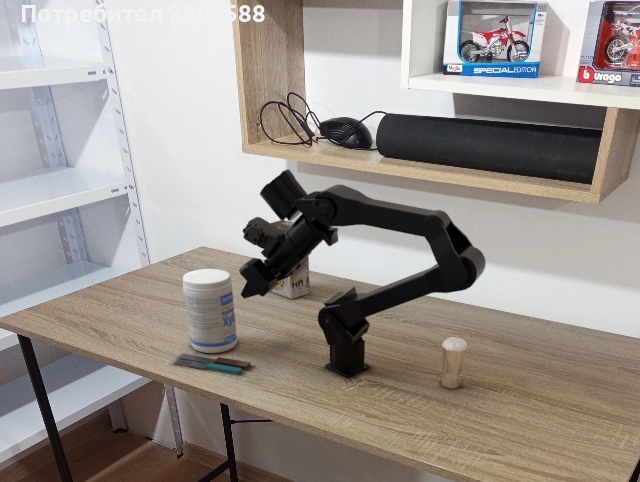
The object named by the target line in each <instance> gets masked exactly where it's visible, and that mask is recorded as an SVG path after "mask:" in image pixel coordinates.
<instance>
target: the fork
mask: <svg viewBox="0 0 640 482" xmlns="http://www.w3.org/2000/svg"><path fill="white" fill-rule="evenodd" d="M173 364H174V365H176V366H182V367H188V368H191V369H197V370H204V371H206V370H207V371H214V372H220V373H225V374H230V375H231V374H232V375H237V376H239V375H241V374H242V373H243V370H242V368H237V367H231V366H225V365H219V364H213V363H209V364H207V363H201V362H195V361H189V360H183V359H179V358H178V360H176V361H174V362H173Z"/></svg>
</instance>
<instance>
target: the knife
mask: <svg viewBox="0 0 640 482" xmlns="http://www.w3.org/2000/svg"><path fill="white" fill-rule="evenodd" d="M179 359H180V360H186V361H192V362H194V361H195V362H201V363H207V364H209V363H213V364H219V365H225V366H231V367H237V368H242V371H247V370H249V369H250V368H251V367H252V365H251V361H246V360H240V359H239V360H238V359H233V358H228V357H220V356H218V357H217V358H210V357H203V356H197V355H192V354H186V353H183V354H181V355H179V356H178V360H179Z"/></svg>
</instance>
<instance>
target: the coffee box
mask: <svg viewBox="0 0 640 482" xmlns="http://www.w3.org/2000/svg"><path fill="white" fill-rule="evenodd" d="M270 223H271V224H272V225H274V226H275V227H277V228H278V229H279V230H280V231H282V232H284V231H285V230H286V229H288V228H289V227H290V226H291V225H292V224H293V223H294V222H292V221H288V220H286V219H285V220H283V221H282V220H280V219H279V220H277V221H273V222H270ZM266 259H267V257H266V258H265V260H266ZM309 260H310V259H309V256H308V257H307V262H306V263H305V264H304V265H303V266H302V267H301V268H300V269H298V270H297V271H295V269H294V270H293V274H292V275H290V276H289V277H288V278H285V279H283V280H280V281H277V285H276V286H275V287H274V288H273V289H272V290H271V291H270V293H274V294H277V295H280V296H282V297H285V298H288V299H291V300H294V299H296V298H299V297H303V296H306V295H309V294H311V293H310V291H311V290H310V262H309Z"/></svg>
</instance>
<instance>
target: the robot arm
mask: <svg viewBox="0 0 640 482" xmlns="http://www.w3.org/2000/svg"><path fill="white" fill-rule="evenodd" d="M259 195H260V197H261V198H262V199H263V200H264V202H265V203H266V205H268V207H269V208H270V209H271V210H272V211H273V213H274V214H275V215H276V217H278V219H279V221H280V220H282V221H283V220H285V221H286V220H287V221H288V222H292V220H294V219H295V218H297V217H298V218H297V219H296V220H295V221H294V222H292V223H293V224H292V225H291V226H290V227H289V228H288V229H286V230H285V231H284V232H282V231H280V230H279V229H278V228H277V227H275V226H274V225H272V224H271V223H272V222H269V221H267V220H265V219H264V218H262V217H261V216H255V217H254V218H251V219H250V220H249V221H248V222H247V224H246V225H245V227H244V228H243V229H242V234H243V236H242V237H243V239H244V240H245V241H247V242H248V243H250V244H251V245H254V246H257V247H258V248H260V249H262V250H261V251H260V253H261V255H262V256H263V257H264V258H265V259H263V260H262V259H261V258H256V257H252V258H251V259H249V260H248V261H247V262H244V264H243V265H242V266H241V267H240V268H239V270H238V271H239V274H240V275H241V276H242V278H243V279H244V280H245V281H246V282H245V284H244V287H243V288H242V290H241V293H240V297H242V298H243V299H244V300H245V299H248V298H251V297H255V296H257V295H258V296H259V297H265V296H266V295H267V294H269V293H271V290H272V289H273V288H274V287H275V286H276V285H277V281H280V280H283V279H285V278H288V277H289V276H290V275H292V274H293V270H294V269H295V271H297V270H298V269H300V268H301V267H302V266H303V265H304V264H305V263H306V262H307V257H308V256H309V255H311V254H312V252H313V251H314V250H315V249H316V248H317V247H318V246H319V245H320V244H321V243H322V242H323V241H324V243H325V244H326V245H327V246H328V247H332V246H334V245H335V244H336V243H338V242H339V235H338V231H339V228H338V227H348V226H350V227H351V226H368V227H373V228H378V229H382V230H388V231H392V232H398V233H403V234H407V235H413V236H417V237H423V238H425V241H426V242H427V243H428V246H429V247H430V249H431V252H432V255H433V257H434V260H435V262H436V263H435V264H434V265H432V266H431V267H429V268H427V269H424V270H421V271H419V272H416V273H413V274H411V275H409V276H406V277H403V278H401V279H398V280H396V281H393V282H391V283H388V284H386V285H383V286H380V287H377V288H375V289H373V290H370V291H367V292H362V293H361V292H360V293H359V292H357V289H356V286H353V287H351V288H349V289H348V290H346V291H338V292H337V293H335V294H334V295H333V296H332V297H330V298H329V299H328V300H327V301H325V302H324V303H323V305H324V306H323V307H322V308H321V309H320V310H319V311H318V314H317V322H318V326H319V327H320V329H321V330H322V333H323V335H324V338H325V341H326V344H327V345H328V346H329V362H327V363H326V364H325V365H324V368H325V369H327V370H329V371H331V372H334V373H336V374H338V375H341V376H342V377H345V378H351V377H353V376H355V375H357V374H359V373H362V372H364V371H366V370H368V369H371V364H368V363H366V362H365V361H366V359H365V357H366V354H365V353H366V340H364V339H363V336H364V335H365V334H367V333H368V331H369V329H370V326H371V323H370V322H369V320H368V319H367V317H370V316H372V315H376V314H378V313H381V312H385V311H386V310H389V309H393V308H394V307H397V306H400V305H403V304H406V303H408V302H411V301H414V300H417V299H419V298H422V297H425V296H428V295H430V294H450V293H455V292H461V291H466V290H468V289H470V288H471V287H472V286H473V285H474V284H475V282H477V280H478V279H479V278H480V277H481V276H482V274H483V273H484V271H485V269H486V264H487V263H486V261H487V260H486V258H485V255H484V254H483V252H482V251H481V250H480V249H479V248H477V247H475V246H474V245H473V243H472V242H471V240H470V239H469V238H468V236H467V235H466V234H465V233H464V232H463V231H462V230H461V229H460V228H459V227H458V226H457V225H456V224H455V223H454V222H453V219H452V218H451V217H450V216H449V214H448V213H447V212H445V210H441V209H435V210H433V209H427V208H423V207H417V206H410V205H406V204H401V203H396V202H391V201H386V200H380V199H375V198H372V197H369V196H367V195H366V194H364V193H362V192H361V191H360V190H357V189H354V188H353V187H351V186H347V185H344V184H335V185H332V186H330V187H328V188H326V189H323V190H315V191H312V192H310V193H307V191H306V190H305V189H304V188H303V186H302V185H301V184H300V182H298V180H297V179H296V176H295V175H294V173H293V172H292V171H291V170H290V169H285V170H282V172H281V173H280V174H279V175H277V176H275V178H273V179H272V180H271V181H270V182H269V183H268V182H267V183H266V184H265V185H264V186H263V187H262V189H261V190H260V192H259ZM266 257H267V259H266Z"/></svg>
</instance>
